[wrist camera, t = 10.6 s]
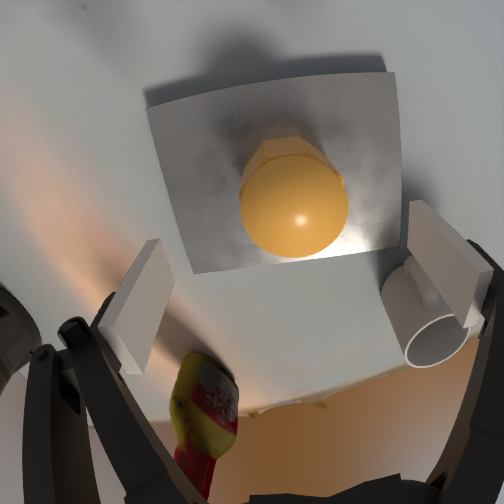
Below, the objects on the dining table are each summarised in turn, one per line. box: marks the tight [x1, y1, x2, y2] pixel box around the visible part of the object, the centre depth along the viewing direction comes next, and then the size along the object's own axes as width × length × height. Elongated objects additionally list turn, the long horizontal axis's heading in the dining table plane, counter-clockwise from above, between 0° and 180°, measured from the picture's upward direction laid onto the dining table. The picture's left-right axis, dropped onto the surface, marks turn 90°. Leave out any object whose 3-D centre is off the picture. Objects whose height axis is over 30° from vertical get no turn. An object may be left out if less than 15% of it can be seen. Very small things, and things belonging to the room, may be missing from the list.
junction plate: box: [146, 72, 402, 274], centre depth 24 cm, size 20×16×6 cm
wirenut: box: [238, 136, 348, 258], centre depth 22 cm, size 7×7×7 cm
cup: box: [381, 256, 471, 368], centre depth 27 cm, size 7×10×9 cm
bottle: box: [169, 353, 239, 501], centre depth 31 cm, size 12×6×20 cm, turn 19°
